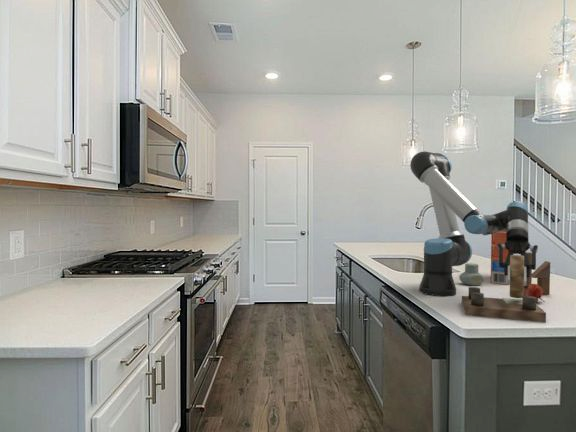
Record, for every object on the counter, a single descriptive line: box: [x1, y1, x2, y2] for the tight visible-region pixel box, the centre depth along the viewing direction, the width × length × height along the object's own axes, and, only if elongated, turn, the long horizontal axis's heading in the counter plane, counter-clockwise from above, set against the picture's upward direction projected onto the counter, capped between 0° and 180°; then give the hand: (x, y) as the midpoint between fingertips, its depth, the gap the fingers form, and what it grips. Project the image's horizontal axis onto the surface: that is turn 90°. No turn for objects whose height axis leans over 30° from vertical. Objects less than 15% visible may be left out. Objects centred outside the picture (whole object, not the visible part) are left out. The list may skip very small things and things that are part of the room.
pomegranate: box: [524, 283, 546, 303], centre depth 159 cm, size 7×7×10 cm
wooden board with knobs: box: [461, 286, 547, 323], centre depth 143 cm, size 24×18×7 cm
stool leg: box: [509, 254, 524, 299], centre depth 145 cm, size 4×4×15 cm
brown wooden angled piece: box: [524, 251, 551, 296], centre depth 174 cm, size 4×11×18 cm, turn 87°
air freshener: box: [458, 262, 485, 287], centre depth 194 cm, size 11×8×10 cm
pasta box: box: [490, 229, 510, 286], centre depth 205 cm, size 23×8×30 cm, turn 147°
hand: (516, 282), depth 142 cm, fingers closed on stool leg, 4 cm apart
